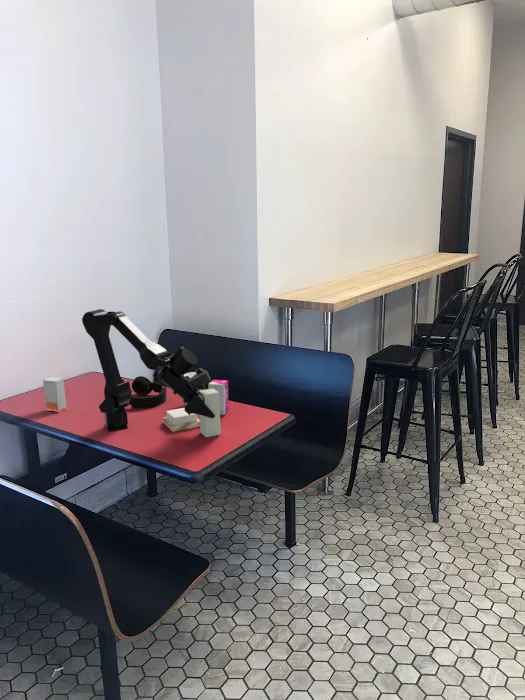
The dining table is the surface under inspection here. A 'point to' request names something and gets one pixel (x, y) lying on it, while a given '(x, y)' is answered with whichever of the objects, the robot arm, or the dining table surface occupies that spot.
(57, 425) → the dining table surface
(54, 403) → the skincare box
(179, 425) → the tower base slab
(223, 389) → the supplement box
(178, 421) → the tower top slab
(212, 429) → the tall block
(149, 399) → the headphones
